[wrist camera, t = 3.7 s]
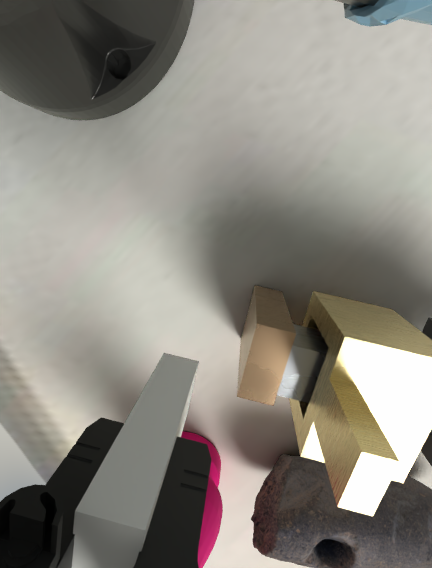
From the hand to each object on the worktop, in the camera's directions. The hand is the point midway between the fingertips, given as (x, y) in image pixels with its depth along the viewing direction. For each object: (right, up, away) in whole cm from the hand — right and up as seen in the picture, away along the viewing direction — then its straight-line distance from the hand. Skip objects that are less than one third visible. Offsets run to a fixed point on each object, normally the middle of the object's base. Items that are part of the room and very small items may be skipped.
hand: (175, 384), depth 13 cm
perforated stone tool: (+12, -12, +13) cm, 21 cm away
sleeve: (+10, 0, +7) cm, 12 cm away
